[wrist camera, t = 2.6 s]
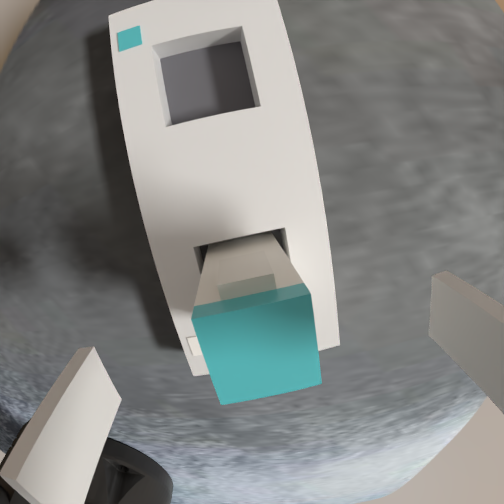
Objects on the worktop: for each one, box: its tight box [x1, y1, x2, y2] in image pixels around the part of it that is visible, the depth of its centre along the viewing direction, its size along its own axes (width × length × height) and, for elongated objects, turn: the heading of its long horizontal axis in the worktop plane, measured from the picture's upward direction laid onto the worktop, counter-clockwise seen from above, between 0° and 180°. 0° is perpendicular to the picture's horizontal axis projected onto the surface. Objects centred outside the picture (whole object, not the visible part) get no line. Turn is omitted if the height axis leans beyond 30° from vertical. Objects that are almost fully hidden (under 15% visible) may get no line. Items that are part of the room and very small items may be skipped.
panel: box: [109, 0, 340, 376], centre depth 17 cm, size 10×24×3 cm, turn 11°
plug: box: [191, 231, 322, 405], centre depth 15 cm, size 4×5×10 cm
